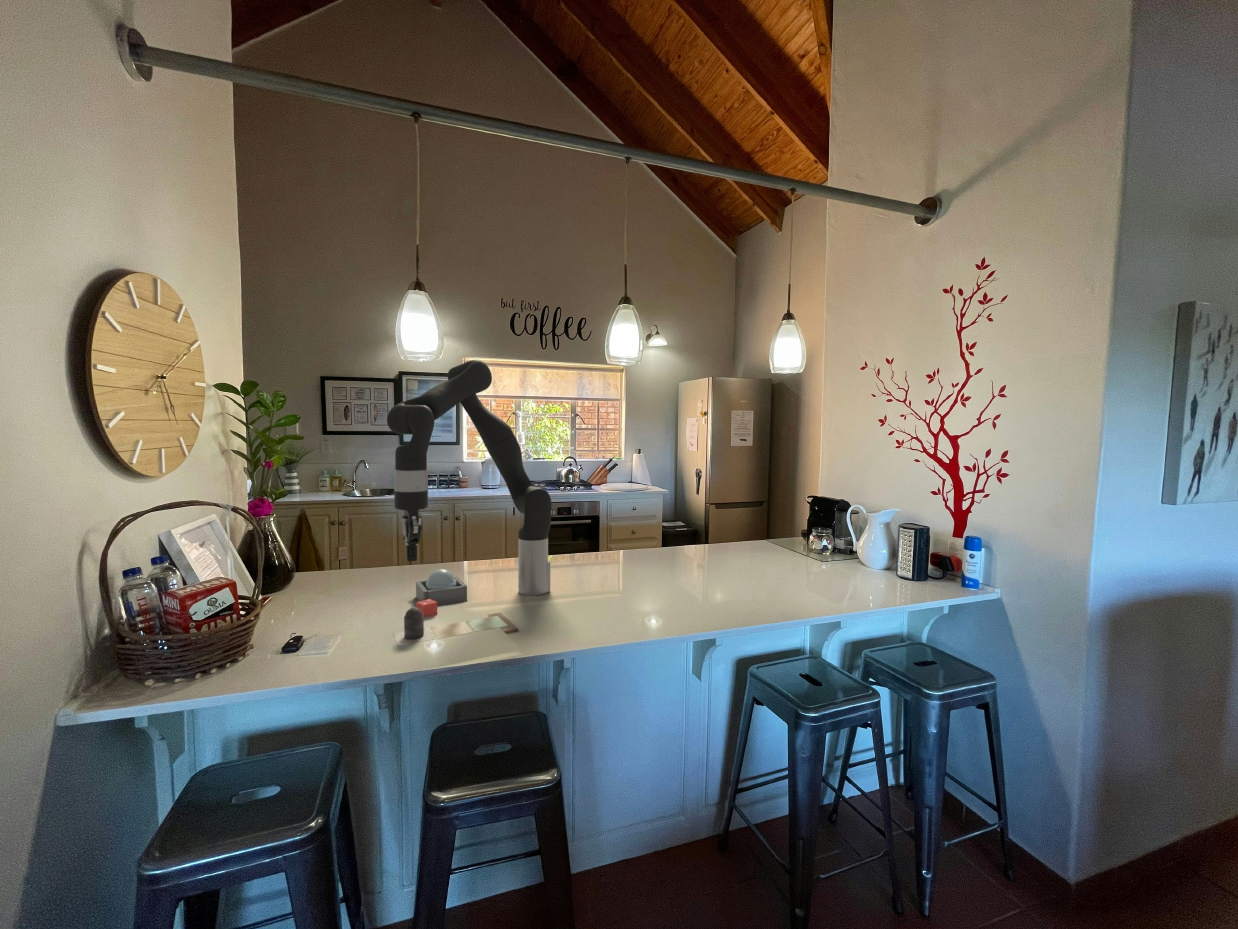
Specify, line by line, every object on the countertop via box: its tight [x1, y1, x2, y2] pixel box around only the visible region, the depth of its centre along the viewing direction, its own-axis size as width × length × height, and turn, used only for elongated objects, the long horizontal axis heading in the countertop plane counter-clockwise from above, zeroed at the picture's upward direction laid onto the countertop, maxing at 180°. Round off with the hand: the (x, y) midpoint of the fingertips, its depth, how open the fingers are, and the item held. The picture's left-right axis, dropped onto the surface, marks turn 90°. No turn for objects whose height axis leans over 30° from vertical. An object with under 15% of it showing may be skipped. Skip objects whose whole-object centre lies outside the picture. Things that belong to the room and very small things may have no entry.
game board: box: [392, 611, 520, 646], centre depth 137 cm, size 30×14×1 cm, turn 121°
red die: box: [415, 599, 438, 618], centre depth 148 cm, size 4×4×4 cm
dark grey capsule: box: [403, 607, 425, 640], centre depth 132 cm, size 4×4×7 cm
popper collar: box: [415, 576, 468, 607], centre depth 164 cm, size 12×12×4 cm
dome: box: [426, 568, 456, 591], centre depth 164 cm, size 9×9×8 cm
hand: (411, 560), depth 131 cm, fingers closed
